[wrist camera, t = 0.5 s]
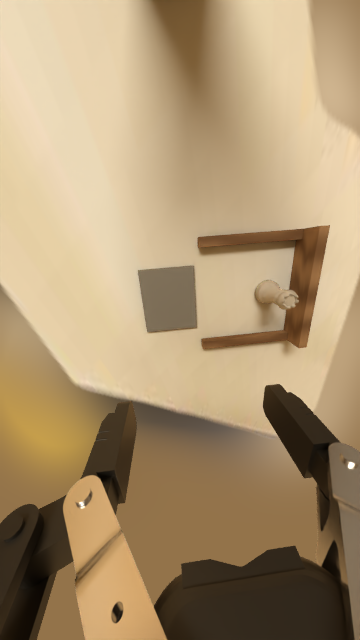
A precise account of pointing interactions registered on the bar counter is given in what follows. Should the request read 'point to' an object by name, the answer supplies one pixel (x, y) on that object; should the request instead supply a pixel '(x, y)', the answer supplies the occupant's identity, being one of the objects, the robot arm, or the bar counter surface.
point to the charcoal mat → (168, 298)
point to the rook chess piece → (276, 295)
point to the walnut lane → (302, 283)
